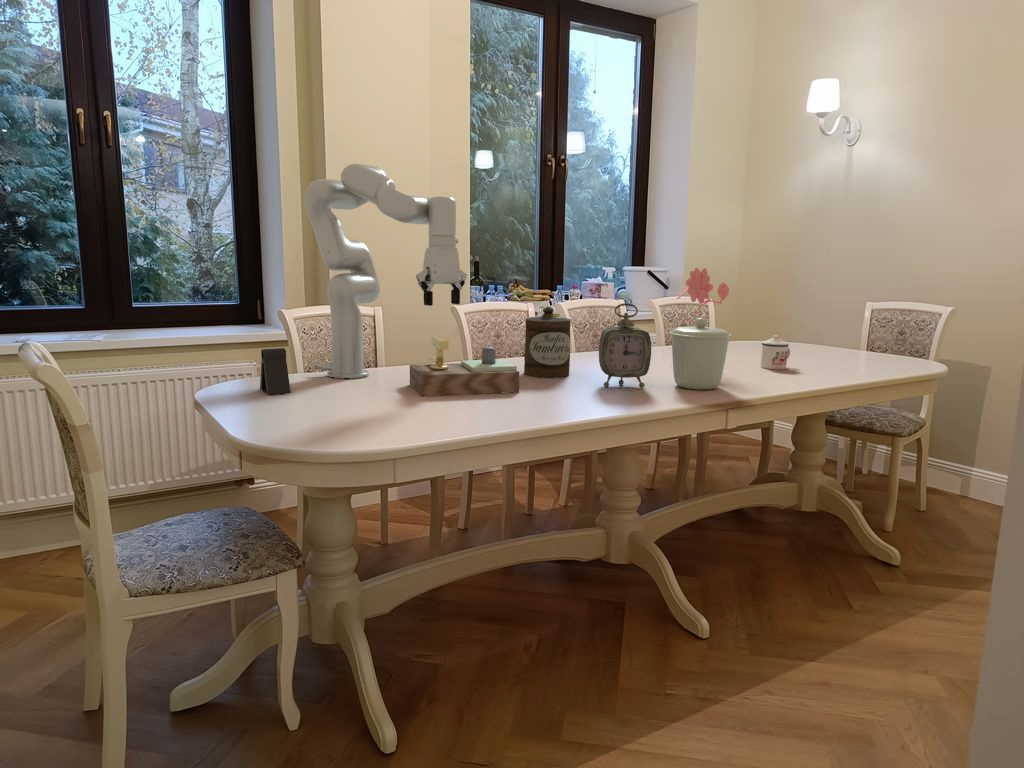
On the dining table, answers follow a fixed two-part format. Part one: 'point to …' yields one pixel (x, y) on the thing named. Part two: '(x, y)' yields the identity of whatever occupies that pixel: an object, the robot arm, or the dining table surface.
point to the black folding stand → (274, 372)
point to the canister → (699, 355)
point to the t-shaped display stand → (439, 353)
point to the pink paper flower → (703, 288)
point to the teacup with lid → (774, 353)
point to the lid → (488, 362)
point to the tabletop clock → (625, 350)
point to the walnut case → (461, 380)
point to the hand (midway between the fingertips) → (442, 304)
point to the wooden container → (547, 345)
